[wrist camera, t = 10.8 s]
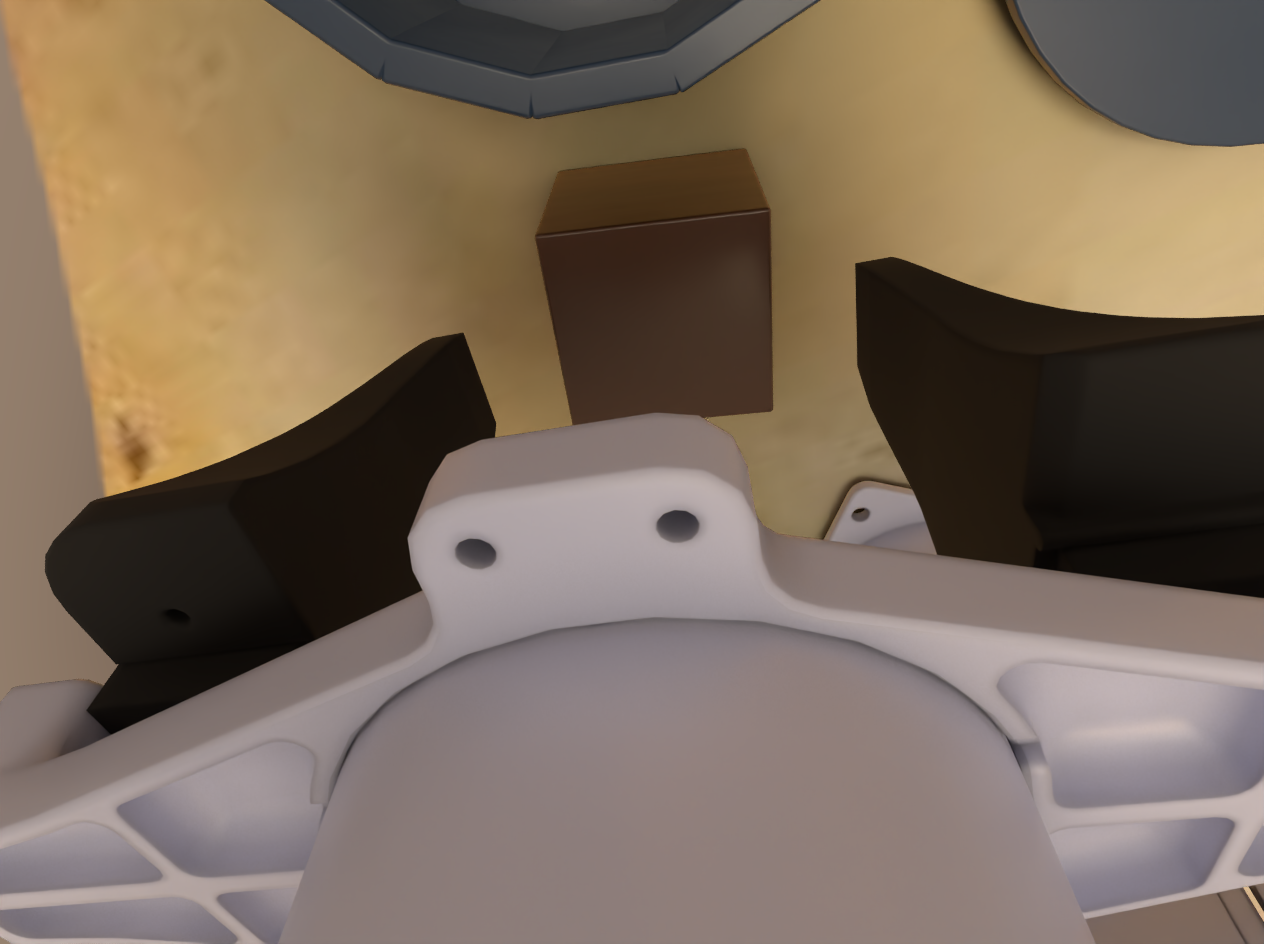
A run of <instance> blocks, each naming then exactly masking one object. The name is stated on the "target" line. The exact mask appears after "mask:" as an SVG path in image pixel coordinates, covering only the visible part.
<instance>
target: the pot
mask: <svg viewBox="0 0 1264 944" xmlns="http://www.w3.org/2000/svg"><path fill="white" fill-rule="evenodd" d="M265 1H266V2H268V3H269V4H270V5H272V6H273V7H275V8H276V9H278V10H279V11H280V12H282V13H283V14H285V15H286V16H288V17H289V18H290V19H292V20H293V21H295V22H296V23H298V24H299V25H300V26H302V27H303V28H305V29H306V30H308V31H309V32H310V33H312V34H313V35H315V36H316V37H318V38H319V39H320V40H322V41H323V42H325V43H326V44H327V45H329V46H330V47H332V48H333V49H335V50H336V51H337V52H339V53H340V54H342V55H343V56H345V57H346V58H347V59H349V60H350V61H352V62H353V63H355V64H356V65H357V66H359V67H360V68H362V69H363V70H365V71H366V72H367V73H369V74H370V75H372V76H373V77H375V78H376V79H379V80H381V79H382V81H384V82H385V83H387V84H391V85H395V86H399V87H403V88H407V89H411V90H415V91H419V92H423V93H427V94H431V95H435V96H439V97H443V98H447V99H451V100H455V101H459V102H463V103H467V104H471V105H475V106H479V107H483V108H487V109H491V110H495V111H499V112H503V113H507V114H511V115H515V116H519V117H523V118H527V119H529V118H532V117H533V118H535V119H541V118H546V117H552V116H557V115H563V114H569V113H574V112H580V111H585V110H591V109H596V108H602V107H608V106H613V105H619V104H624V103H630V102H635V101H641V100H647V99H652V98H658V97H663V96H669V95H674V94H677V93H678V92H679V91H681V92H684V91H686V90H687V89H689V88H690V87H692V86H693V85H695V84H696V83H698V82H699V81H701V80H702V79H704V78H705V77H707V76H708V75H710V74H711V73H713V72H714V71H716V70H717V69H719V68H720V67H722V66H723V65H725V64H726V63H728V62H729V61H731V60H732V59H734V58H735V57H737V56H738V55H740V54H741V53H743V52H744V51H746V50H747V49H749V48H750V47H751V46H753V45H754V44H756V43H757V42H759V41H760V40H762V39H763V38H765V37H766V36H768V35H769V34H771V33H772V32H774V31H775V30H777V29H778V28H780V27H781V26H783V25H784V24H786V23H787V22H789V21H790V20H792V19H793V18H795V17H796V16H798V15H799V14H801V13H802V12H804V11H805V10H807V9H808V8H810V7H811V6H813V5H814V4H816V3H817V2H819V1H820V0H265Z"/></svg>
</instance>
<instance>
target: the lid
mask: <svg viewBox="0 0 1264 944" xmlns="http://www.w3.org/2000/svg"><path fill="white" fill-rule="evenodd" d="M1005 1H1006V3H1007V6H1008V9H1009V12H1010V14H1011V17H1012V19H1013V21H1014V22H1015V24H1016V26H1017V28H1018V30H1019V31H1020V33H1021V35H1022V37H1023V39H1024V40H1025V42H1026V44H1027V46H1028V48H1029V49H1030V51H1031V53H1032V54H1033V55H1034V56H1035V58H1036V59H1037V60H1038V61H1039V63H1040V64H1041V65H1042V66H1043V68H1044V69H1045V70H1046V71H1047V73H1048V74H1049V75H1050V76H1051V77H1052V79H1053V80H1054V81H1055V82H1056V83H1057V84H1058V85H1060V86H1061V87H1062V88H1063V89H1064V90H1065V91H1067V92H1068V93H1069V94H1070V95H1071V96H1072V97H1074V98H1075V99H1076V100H1077V101H1078V102H1079V103H1080V104H1082V105H1084V106H1085V107H1087V108H1089V109H1090V110H1092V111H1094V112H1096V113H1097V114H1099V115H1101V116H1102V117H1104V118H1106V119H1108V120H1109V121H1111V122H1113V123H1115V124H1117V125H1120V126H1122V127H1125V128H1128V129H1130V130H1133V131H1136V132H1139V133H1141V134H1144V135H1147V136H1149V137H1152V138H1155V139H1160V140H1166V141H1171V142H1176V143H1182V144H1187V145H1197V146H1224V147H1233V146H1243V145H1254V144H1264V0H1005Z"/></svg>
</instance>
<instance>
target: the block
mask: <svg viewBox="0 0 1264 944" xmlns="http://www.w3.org/2000/svg"><path fill="white" fill-rule="evenodd" d="M535 241H536V246H537V251H538V256H539V261H540V266H541V271H542V276H543V281H544V286H545V291H546V296H547V300H548V305H549V310H550V315H551V320H552V325H553V330H554V335H555V340H556V345H557V350H558V355H559V360H560V365H561V370H562V375H563V380H564V385H565V390H566V395H567V399H568V404H569V409H570V414H571V419H572V424H573V425H579V424H586V423H592V422H598V421H605V420H611V419H618V418H624V417H630V416H637V415H643V414H650V413H669V414H684V415H699V416H700V417H702V418H706V417H717V416H728V415H739V414H749V413H760V412H771V411H772V410H773V342H772V262H771V210H770V207H769V205H768V202H767V200H766V197H765V195H764V192H763V190H762V187H761V185H760V182H759V180H758V177H757V175H756V172H755V170H754V167H753V165H752V162H751V160H750V158H749V155H748V153H747V150H746V149H736V150H728V151H720V152H712V153H703V154H695V155H687V156H679V157H671V158H663V159H655V160H647V161H639V162H630V163H622V164H614V165H606V166H598V167H590V168H582V169H574V170H566V171H560V172H558V174H557V177H556V179H555V182H554V185H553V188H552V191H551V193H550V196H549V199H548V202H547V204H546V207H545V210H544V213H543V215H542V218H541V221H540V224H539V227H538V229H537V232H536V235H535Z"/></svg>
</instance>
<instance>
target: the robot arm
mask: <svg viewBox="0 0 1264 944" xmlns="http://www.w3.org/2000/svg"><path fill="white" fill-rule="evenodd" d="M855 270H856V318H857V365H858V369H859V373H860V376H861V379H862V382H863V386H864V389H865V392H866V395H867V398H868V401H869V404H870V407H871V409H872V411H873V413H874V415H875V417H876V419H877V421H878V423H879V425H880V427H881V429H882V431H883V433H884V435H885V437H886V439H887V441H888V443H889V445H890V447H891V449H892V451H893V453H894V455H895V457H896V459H897V461H898V463H899V465H900V466H901V468H902V470H903V472H904V474H905V476H906V478H907V480H908V482H909V484H910V486H911V488H912V489H908V488H904V487H899V486H894V485H889V484H884V483H879V482H874V481H863V482H859V483H857V484H855V485H854V486H852V488H851V489H850V490H849V491H848V493H847V495H846V497H845V499H844V501H843V503H842V505H841V507H840V509H839V511H838V513H837V515H836V517H835V519H834V520H833V522H832V524H831V526H830V528H829V530H828V532H827V534H826V536H825V538H824V540H821V539H814V538H806V537H799V536H791V535H784V534H778V533H775V532H774V531H772V530H770V529H769V528H767V527H766V526H764V525H763V524H762V523H761V521H760V520H759V518H758V517H757V515H756V511H755V506H754V500H753V494H752V488H751V483H750V477H749V471H748V466H747V464H746V462H745V460H744V458H743V456H742V454H741V452H740V450H739V448H738V446H737V444H736V442H735V440H734V438H733V436H732V435H730V434H729V433H727V432H725V431H724V430H722V429H720V428H719V427H717V426H715V425H714V424H712V423H710V422H709V421H707V420H705V419H704V418H702V417H700V416H699V415H684V414H669V413H650V414H643V415H637V416H630V417H624V418H618V419H611V420H605V421H598V422H592V423H586V424H579V425H573V426H566V427H560V428H554V429H547V430H541V431H535V432H528V433H522V434H515V435H509V436H503V437H496V438H495V431H496V421H495V419H494V416H493V413H492V410H491V408H490V405H489V402H488V399H487V397H486V394H485V391H484V388H483V385H482V383H481V380H480V377H479V374H478V372H477V369H476V366H475V363H474V361H473V358H472V355H471V352H470V350H469V347H468V344H467V341H466V339H465V336H464V333H458V334H453V335H447V336H442V337H436V338H432V339H430V340H427V341H425V342H423V343H422V344H420V345H418V346H417V347H415V348H414V349H412V350H411V351H409V352H408V353H406V354H405V355H403V356H402V357H401V358H399V359H398V360H396V361H395V362H394V363H392V364H391V365H389V366H388V367H387V368H385V369H384V370H383V371H381V372H380V373H378V374H377V375H376V376H374V377H373V378H372V379H370V380H369V381H367V382H366V383H365V384H363V385H362V386H360V387H359V388H357V389H356V390H354V391H353V392H351V393H350V394H348V395H347V396H345V397H344V398H342V399H341V400H340V401H338V402H337V403H335V404H334V405H332V406H331V407H329V408H328V409H326V410H324V411H323V412H321V413H319V414H318V415H316V416H314V417H313V418H311V419H309V420H307V421H306V422H304V423H302V424H300V425H298V426H296V427H295V428H293V429H291V430H289V431H287V432H285V433H283V434H281V435H279V436H277V437H275V438H273V439H271V440H269V441H267V442H264V443H262V444H260V445H258V446H255V447H253V448H251V449H249V450H247V451H244V452H242V453H240V454H238V455H235V456H233V457H231V458H228V459H226V460H223V461H220V462H218V463H215V464H213V465H210V466H207V467H205V468H202V469H199V470H196V471H193V472H190V473H187V474H184V475H182V476H179V477H176V478H172V479H169V480H166V481H163V482H160V483H156V484H152V485H149V486H145V487H141V488H138V489H134V490H131V491H127V492H123V493H120V494H116V495H113V496H109V497H104V498H100V499H96V500H94V501H92V502H90V503H89V504H88V505H87V506H86V507H85V508H84V509H83V510H82V511H81V513H79V515H78V516H77V517H76V518H75V519H74V520H73V521H72V522H71V523H70V524H69V525H68V526H67V527H66V528H65V529H64V530H63V531H62V532H61V533H60V534H59V536H58V537H57V538H56V539H55V540H54V541H53V543H52V545H51V546H50V548H49V550H48V552H47V553H46V556H45V559H46V560H45V573H46V576H47V579H48V581H49V584H50V587H51V589H52V591H53V593H54V595H55V596H56V598H57V599H58V600H59V602H60V603H61V604H62V606H63V607H64V608H65V610H66V611H67V612H68V613H69V614H70V615H71V616H72V617H73V618H74V620H75V621H76V622H77V623H78V624H79V625H80V626H81V627H82V628H83V629H84V630H85V631H86V632H87V633H88V634H89V636H90V637H91V638H92V639H93V640H94V641H95V642H96V643H97V644H98V645H99V646H100V647H101V648H102V649H103V651H104V652H105V653H106V654H107V655H108V656H109V657H110V658H111V659H112V660H113V661H114V662H115V664H119V665H118V666H117V668H116V670H115V671H114V672H113V674H112V675H111V676H110V678H109V679H108V680H107V682H106V683H105V685H104V686H103V685H102V684H99V683H96V682H94V681H91V680H84V679H73V680H65V681H57V682H49V683H40V684H33V685H24V686H17V687H13V688H12V689H11V690H10V691H9V692H8V693H7V695H6V696H5V697H4V698H3V699H2V701H1V702H0V937H2V938H3V939H5V940H6V941H8V942H10V943H11V944H1264V921H1263V920H1262V918H1261V917H1260V915H1259V913H1258V912H1257V910H1256V908H1255V907H1254V905H1253V903H1252V902H1251V900H1250V898H1249V897H1248V895H1247V894H1246V892H1245V890H1244V889H1243V887H1247V886H1249V888H1250V890H1251V891H1252V893H1253V895H1254V896H1255V898H1256V900H1257V901H1258V903H1259V905H1260V906H1261V908H1262V910H1263V911H1264V315H1257V316H1235V317H1214V318H1153V317H1132V316H1117V315H1108V314H1098V313H1089V312H1080V311H1073V310H1067V309H1060V308H1055V307H1050V306H1045V305H1040V304H1035V303H1030V302H1025V301H1021V300H1017V299H1013V298H1010V297H1006V296H1003V295H1000V294H996V293H993V292H990V291H986V290H983V289H980V288H977V287H974V286H971V285H968V284H966V283H963V282H960V281H957V280H955V279H952V278H950V277H947V276H944V275H942V274H939V273H937V272H934V271H932V270H929V269H927V268H924V267H922V266H919V265H916V264H914V263H911V262H908V261H905V260H902V259H899V258H894V257H889V258H883V259H877V260H872V261H866V262H860V263H855ZM859 508H865V510H864V511H862V512H860V513H853V512H854V510H856V509H859Z"/></svg>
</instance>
